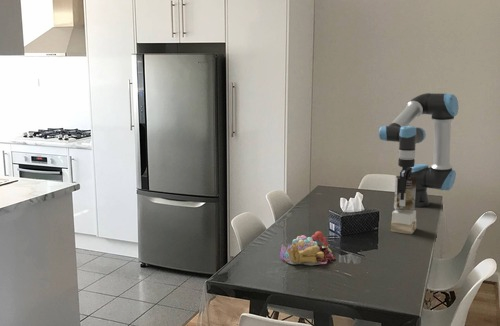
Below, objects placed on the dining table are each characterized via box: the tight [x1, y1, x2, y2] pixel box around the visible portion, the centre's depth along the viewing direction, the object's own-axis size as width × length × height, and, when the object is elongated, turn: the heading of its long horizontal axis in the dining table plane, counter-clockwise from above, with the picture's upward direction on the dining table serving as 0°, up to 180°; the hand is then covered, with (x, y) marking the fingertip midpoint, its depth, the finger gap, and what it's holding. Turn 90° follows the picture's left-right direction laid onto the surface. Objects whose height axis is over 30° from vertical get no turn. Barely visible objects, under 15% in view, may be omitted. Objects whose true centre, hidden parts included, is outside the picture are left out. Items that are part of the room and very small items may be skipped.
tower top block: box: [391, 209, 417, 225], centre depth 261 cm, size 9×9×5 cm
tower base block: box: [390, 219, 418, 235], centre depth 262 cm, size 10×10×5 cm
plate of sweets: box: [279, 230, 335, 266], centre depth 229 cm, size 25×24×9 cm
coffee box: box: [393, 175, 416, 211], centre depth 258 cm, size 9×6×16 cm
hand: (404, 203), depth 260 cm, fingers closed on coffee box, 8 cm apart
